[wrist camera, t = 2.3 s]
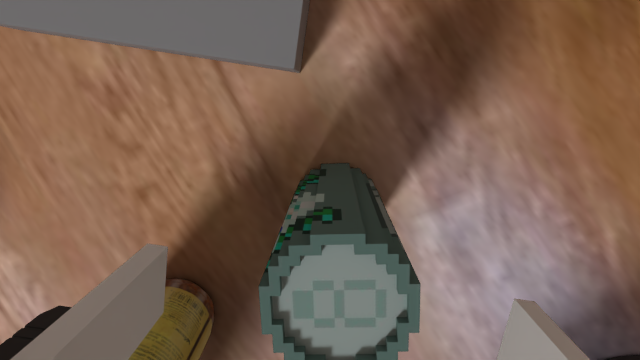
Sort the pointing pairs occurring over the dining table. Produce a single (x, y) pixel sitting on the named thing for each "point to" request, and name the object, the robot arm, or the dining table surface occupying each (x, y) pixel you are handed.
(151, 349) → the sauce bottle
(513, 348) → the robot arm
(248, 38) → the socket block
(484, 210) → the dining table surface
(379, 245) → the can
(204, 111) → the dining table surface
